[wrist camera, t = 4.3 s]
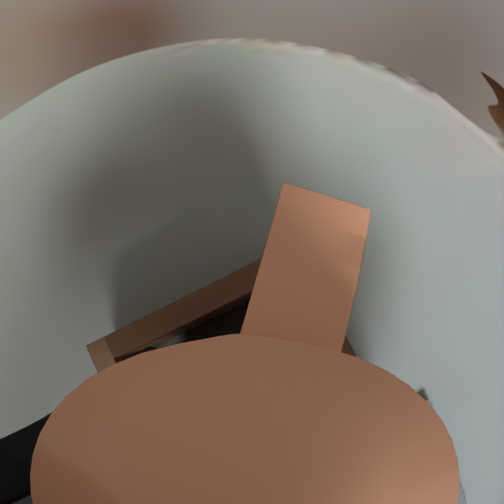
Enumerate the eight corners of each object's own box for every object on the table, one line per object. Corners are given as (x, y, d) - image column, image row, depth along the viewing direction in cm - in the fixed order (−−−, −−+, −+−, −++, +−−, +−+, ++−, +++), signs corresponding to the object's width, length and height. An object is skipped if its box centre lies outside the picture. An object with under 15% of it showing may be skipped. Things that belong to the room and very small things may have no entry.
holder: (368, 419, 15) (396, 437, 11) (204, 499, 13) (197, 531, 10) (283, 260, 17) (294, 241, 13) (115, 344, 15) (86, 345, 12)
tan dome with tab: (282, 454, 14) (357, 645, 2) (171, 424, 14) (35, 579, 2) (329, 297, 16) (521, 205, 4) (218, 265, 17) (158, 82, 4)
